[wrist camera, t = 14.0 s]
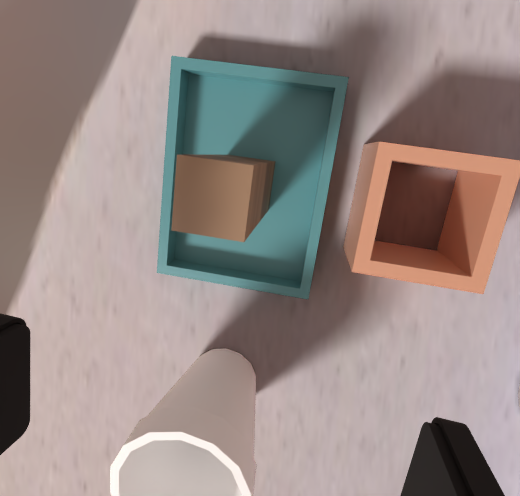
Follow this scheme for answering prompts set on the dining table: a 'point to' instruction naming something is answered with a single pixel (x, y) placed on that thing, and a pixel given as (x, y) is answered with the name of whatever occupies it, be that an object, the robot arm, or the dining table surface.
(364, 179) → the holder cup
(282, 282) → the tray
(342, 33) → the dining table surface
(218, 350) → the foam cup
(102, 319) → the dining table surface
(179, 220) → the walnut stick
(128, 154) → the dining table surface
